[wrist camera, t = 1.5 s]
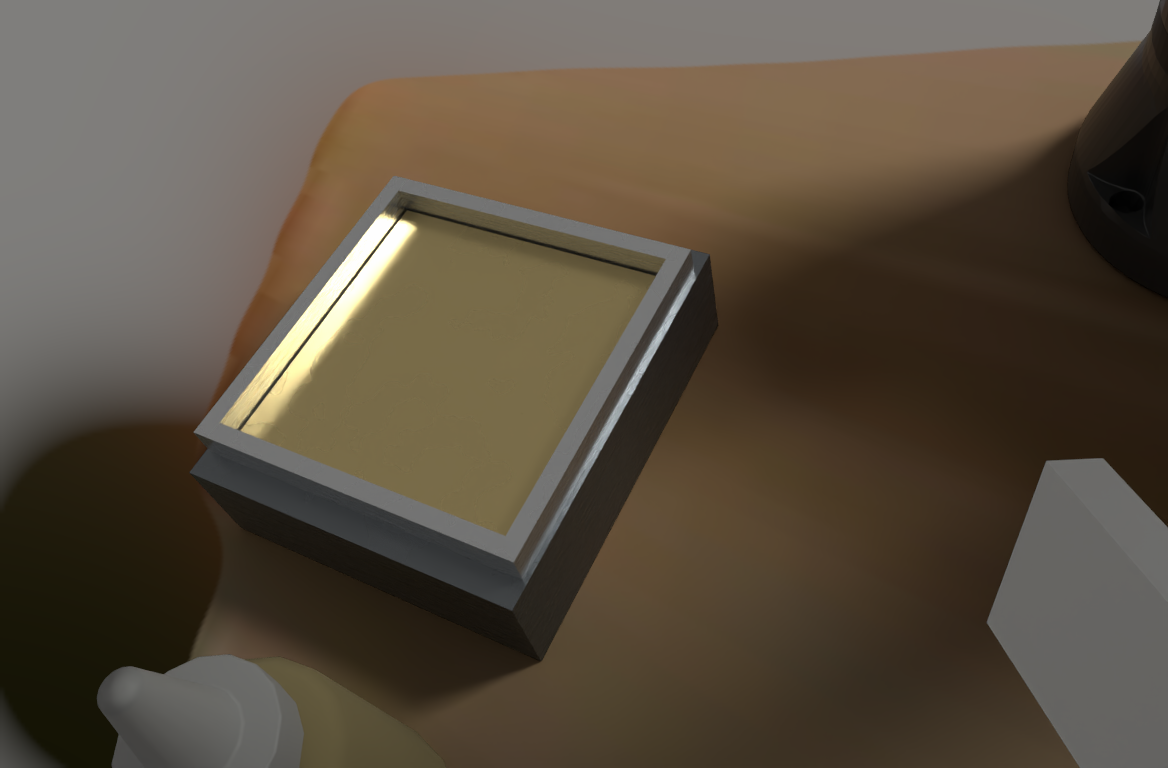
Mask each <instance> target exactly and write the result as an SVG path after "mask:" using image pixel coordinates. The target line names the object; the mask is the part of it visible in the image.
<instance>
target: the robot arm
mask: <svg viewBox="0 0 1168 768" xmlns="http://www.w3.org/2000/svg"><path fill="white" fill-rule="evenodd" d="M1068 196H1069V202H1070V205H1071V209H1072V212H1073V214H1074V217H1075V219H1076V221H1077V223H1078V225H1079V227H1080V229H1081V230H1082V232H1083V233H1084V235H1085V236H1086V238H1087V239H1088V240H1089V242H1090V243H1091V244H1092V245H1093V246H1094V248H1095V249H1096V250H1097V251H1098V252H1099V253H1100V254H1101V255H1102V256H1103V257H1104V258H1105V259H1106V260H1107V261H1109V262H1110V263H1111V264H1112V265H1113V266H1115V267H1116V268H1117V269H1118V270H1120V271H1121V272H1123V273H1124V274H1125V275H1127V276H1128V277H1130V278H1131V279H1133V280H1135V281H1136V282H1138V283H1140V284H1141V285H1143V286H1145V287H1147V288H1149V289H1151V290H1153V291H1155V292H1157V293H1159V294H1161V295H1163V296H1166V297H1168V0H1160V2H1159V6H1158V9H1157V12H1156V16H1155V18H1154V21H1153V24H1152V28H1151V30H1150V32H1149V33H1148V34H1147V36H1146V37H1145V38H1144V40H1143V41H1142V42H1141V44H1140V45H1139V46H1138V48H1137V49H1136V50H1135V51H1134V53H1133V54H1132V55H1131V57H1130V58H1129V59H1128V61H1127V62H1126V63H1125V65H1124V66H1123V67H1122V69H1121V70H1120V71H1119V73H1118V74H1117V75H1116V76H1115V78H1114V79H1113V80H1112V82H1111V83H1110V84H1109V86H1108V87H1107V88H1106V90H1105V91H1104V92H1103V94H1102V95H1101V96H1100V98H1099V99H1098V100H1097V102H1096V103H1095V104H1094V106H1093V107H1092V108H1091V110H1090V111H1089V113H1088V115H1087V117H1086V118H1085V120H1084V122H1083V125H1082V127H1081V129H1080V131H1079V134H1078V138H1077V141H1076V145H1075V149H1074V153H1073V157H1072V160H1071V164H1070V168H1069V174H1068ZM987 624H988V625H989V627H990V629H991V630H992V632H993V633H994V635H995V636H996V638H997V639H998V641H999V643H1000V644H1001V646H1002V647H1003V649H1004V650H1005V652H1006V653H1007V655H1008V657H1009V658H1010V660H1011V661H1012V663H1013V664H1014V666H1015V667H1016V669H1017V671H1018V672H1019V674H1020V675H1021V677H1022V678H1023V680H1024V681H1025V683H1026V685H1027V686H1028V688H1029V689H1030V691H1031V692H1032V694H1033V695H1034V697H1035V699H1036V700H1037V702H1038V703H1039V705H1040V706H1041V708H1042V709H1043V711H1044V713H1045V714H1046V716H1047V717H1048V719H1049V720H1050V722H1051V723H1052V725H1053V727H1054V728H1055V730H1056V731H1057V733H1058V734H1059V736H1060V738H1061V739H1062V741H1063V742H1064V744H1065V745H1066V747H1067V748H1068V750H1069V752H1070V753H1071V755H1072V756H1073V758H1074V759H1075V761H1076V762H1077V764H1078V766H1079V767H1080V768H1168V527H1167V526H1166V525H1165V524H1164V523H1163V522H1162V521H1161V520H1160V519H1159V518H1158V517H1157V516H1156V514H1155V513H1154V512H1153V511H1152V510H1151V509H1150V508H1149V507H1148V506H1147V505H1146V504H1145V503H1144V502H1143V501H1142V499H1141V498H1140V497H1139V496H1138V495H1137V494H1136V493H1135V492H1134V491H1133V490H1132V489H1131V488H1130V487H1129V486H1128V484H1127V483H1126V482H1125V481H1124V480H1123V479H1122V478H1121V477H1120V476H1119V475H1118V474H1117V473H1116V472H1115V471H1114V469H1113V468H1112V467H1111V466H1110V465H1109V464H1108V463H1107V462H1106V461H1105V460H1104V459H1103V458H1096V459H1074V460H1052V461H1046V463H1045V466H1044V468H1043V471H1042V474H1041V476H1040V479H1039V482H1038V485H1037V487H1036V490H1035V493H1034V495H1033V498H1032V501H1031V504H1030V506H1029V509H1028V512H1027V514H1026V517H1025V520H1024V523H1023V525H1022V528H1021V531H1020V533H1019V536H1018V539H1017V541H1016V544H1015V547H1014V550H1013V552H1012V555H1011V558H1010V560H1009V563H1008V566H1007V569H1006V571H1005V574H1004V577H1003V579H1002V582H1001V585H1000V588H999V590H998V593H997V596H996V598H995V601H994V604H993V607H992V609H991V612H990V615H989V617H988V620H987Z"/></svg>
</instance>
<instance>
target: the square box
mask: <svg viewBox="0 0 1168 768" xmlns="http://www.w3.org/2000/svg"><path fill="white" fill-rule="evenodd" d="M717 327H718V319H717V310H716V302H715V294H714V286H713V278H712V270H711V262H710V254H706V253H702V252H698V251H694V250H690V249H686V248H682V247H678V246H674V245H670V244H666V243H662V242H658V241H654V240H650V239H646V238H642V237H638V236H634V235H630V234H626V233H622V232H618V231H614V230H610V229H606V228H602V227H598V226H594V225H590V224H586V223H582V222H578V221H574V220H570V219H566V218H562V217H558V216H554V215H550V214H546V213H542V212H538V211H534V210H530V209H525V208H521V207H517V206H513V205H509V204H505V203H501V202H497V201H493V200H489V199H485V198H481V197H477V196H473V195H469V194H465V193H461V192H457V191H453V190H449V189H445V188H441V187H437V186H433V185H429V184H425V183H421V182H417V181H413V180H409V179H405V178H401V177H397V176H393V177H392V179H391V180H390V181H389V183H388V184H387V185H386V186H385V188H384V189H383V190H382V192H381V193H380V194H379V195H378V197H377V198H376V199H375V201H374V202H373V203H372V204H371V206H370V207H369V208H368V210H367V211H366V212H365V213H364V215H363V216H362V217H361V218H360V220H359V221H358V222H357V224H356V225H355V226H354V227H353V229H352V230H351V231H350V233H349V234H348V235H347V236H346V238H345V239H344V240H343V242H342V243H341V244H340V245H339V247H338V248H337V249H336V250H335V252H334V253H333V254H332V256H331V257H330V258H329V259H328V261H327V262H326V263H325V265H324V266H323V267H322V268H321V270H320V271H319V272H318V274H317V275H316V276H315V277H314V279H313V280H312V281H311V283H310V284H309V285H308V286H307V288H306V289H305V290H304V291H303V293H302V294H301V295H300V297H299V298H298V299H297V300H296V302H295V303H294V304H293V306H292V307H291V308H290V309H289V311H288V312H287V313H286V315H285V316H284V317H283V318H282V320H281V321H280V322H279V323H278V325H277V326H276V327H275V329H274V330H273V331H272V332H271V334H270V335H269V336H268V338H267V339H266V340H265V341H264V343H263V344H262V345H261V347H260V348H259V349H258V350H257V352H256V353H255V354H254V355H253V357H252V358H251V359H250V361H249V362H248V363H247V364H246V366H245V367H244V368H243V370H242V371H241V372H240V373H239V375H238V376H237V377H236V379H235V380H234V381H233V382H232V384H231V385H230V386H229V388H228V389H227V390H226V391H225V393H224V394H223V395H222V396H221V398H220V399H219V400H218V402H217V403H216V404H215V405H214V407H213V408H212V409H211V411H210V412H209V413H208V414H207V416H206V417H205V418H204V420H203V421H202V422H201V423H200V425H199V426H198V427H197V428H196V430H195V431H194V433H195V434H196V436H197V437H198V438H199V439H200V440H201V441H202V442H203V444H204V445H205V446H206V447H207V448H208V449H207V450H206V452H205V453H204V454H203V455H202V457H201V458H200V459H199V461H198V462H197V463H196V465H195V466H194V467H193V469H192V470H191V471H190V474H191V475H192V476H193V477H194V478H195V479H196V480H197V481H198V482H199V483H200V484H201V485H202V487H203V488H204V489H205V490H206V491H207V492H208V493H209V494H210V495H211V496H212V497H213V498H214V499H215V500H216V501H217V503H218V504H219V505H220V506H221V507H222V508H223V509H224V510H225V511H226V512H227V513H228V514H229V515H230V516H231V517H232V518H233V520H234V521H235V522H236V523H237V524H238V525H239V526H240V527H241V528H243V529H245V530H247V531H249V532H252V533H254V534H256V535H258V536H261V537H263V538H265V539H267V540H270V541H272V542H274V543H276V544H279V545H281V546H283V547H285V548H288V549H290V550H292V551H294V552H297V553H299V554H301V555H303V556H306V557H308V558H310V559H312V560H315V561H317V562H319V563H321V564H324V565H326V566H328V567H330V568H333V569H335V570H337V571H339V572H342V573H344V574H346V575H348V576H351V577H353V578H355V579H357V580H360V581H362V582H364V583H366V584H369V585H371V586H373V587H375V588H378V589H380V590H382V591H384V592H386V593H389V594H391V595H393V596H395V597H398V598H400V599H402V600H404V601H407V602H409V603H411V604H413V605H416V606H418V607H420V608H422V609H425V610H427V611H429V612H431V613H434V614H436V615H438V616H440V617H443V618H445V619H447V620H449V621H452V622H454V623H456V624H458V625H461V626H463V627H465V628H467V629H470V630H472V631H474V632H476V633H479V634H481V635H483V636H485V637H488V638H490V639H492V640H494V641H497V642H499V643H501V644H503V645H506V646H508V647H510V648H512V649H515V650H517V651H519V652H521V653H524V654H526V655H528V656H530V657H533V658H535V659H537V660H539V661H542V659H543V657H544V655H545V653H546V651H547V649H548V648H549V646H550V644H551V642H552V640H553V638H554V636H555V634H556V632H557V630H558V629H559V627H560V625H561V623H562V621H563V619H564V617H565V615H566V613H567V612H568V610H569V608H570V606H571V604H572V602H573V600H574V598H575V596H576V594H577V593H578V591H579V589H580V587H581V585H582V583H583V581H584V579H585V577H586V575H587V574H588V572H589V570H590V568H591V566H592V564H593V562H594V560H595V558H596V556H597V555H598V553H599V551H600V549H601V547H602V545H603V543H604V541H605V539H606V537H607V536H608V534H609V532H610V530H611V528H612V526H613V524H614V522H615V520H616V518H617V517H618V515H619V513H620V511H621V509H622V507H623V505H624V503H625V501H626V499H627V498H628V496H629V494H630V492H631V490H632V488H633V486H634V484H635V482H636V480H637V479H638V477H639V475H640V473H641V471H642V469H643V467H644V465H645V463H646V461H647V460H648V458H649V456H650V454H651V452H652V450H653V448H654V446H655V444H656V442H657V441H658V439H659V437H660V435H661V433H662V431H663V429H664V427H665V425H666V424H667V422H668V420H669V418H670V416H671V414H672V412H673V410H674V408H675V406H676V405H677V403H678V401H679V399H680V397H681V395H682V393H683V391H684V389H685V387H686V386H687V384H688V382H689V380H690V378H691V376H692V374H693V372H694V370H695V368H696V367H697V365H698V363H699V361H700V359H701V357H702V355H703V353H704V351H705V349H706V348H707V346H708V344H709V342H710V340H711V338H712V336H713V334H714V332H715V330H716V329H717Z"/></svg>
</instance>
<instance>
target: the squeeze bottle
mask: <svg viewBox="0 0 1168 768" xmlns="http://www.w3.org/2000/svg"><path fill="white" fill-rule="evenodd" d="M97 702H98V707H99V708H100V709H101V711H102V712H103V714H104V715H105V716H106V717H107V719H108V720H109V722H110V723H111V724H112V726H113V727H114V728H115V729H116V731H117V732H118V733H119V737H118V741H117V745H116V749H115V753H114V757H113V761H112V768H446V766H445V763H444V761H443V760H442V759H441V758H440V757H439V756H438V755H437V753H436V752H435V751H434V750H433V749H432V748H431V747H430V746H429V745H428V744H427V743H426V742H425V741H424V740H423V739H422V738H421V736H420V735H419V734H418V733H417V732H416V731H414V730H413V729H411V728H409V727H408V726H406V725H404V724H403V723H401V722H400V721H398V720H396V719H395V718H393V717H391V716H390V715H388V714H387V713H385V712H383V711H382V710H380V709H378V708H377V707H375V706H374V705H372V704H370V703H369V702H367V701H365V700H364V699H362V698H361V697H359V696H357V695H356V694H354V693H352V692H351V691H349V690H348V689H346V688H344V687H343V686H341V685H339V684H338V683H336V682H335V681H333V680H331V679H330V678H328V677H326V676H325V675H323V674H322V673H320V672H318V671H317V670H315V669H312V668H310V667H307V666H304V665H301V664H299V663H296V662H293V661H290V660H288V659H285V658H282V657H269V658H257V659H245V660H244V659H241V658H238V657H235V656H233V655H230V654H228V655H217V656H205V657H198V658H195V659H193V660H191V661H189V662H187V663H185V664H183V665H181V666H179V667H176V668H174V669H172V670H170V671H168V672H166V673H165V674H164V675H163V674H159V673H155V672H151V671H147V670H143V669H139V668H135V667H122V668H120V669H117V670H115V671H113V672H112V673H111V674H110V675H109V676H108V677H106V678H105V680H104V681H103V683H102V684H101V686H100V688H99V692H98V695H97Z"/></svg>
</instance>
